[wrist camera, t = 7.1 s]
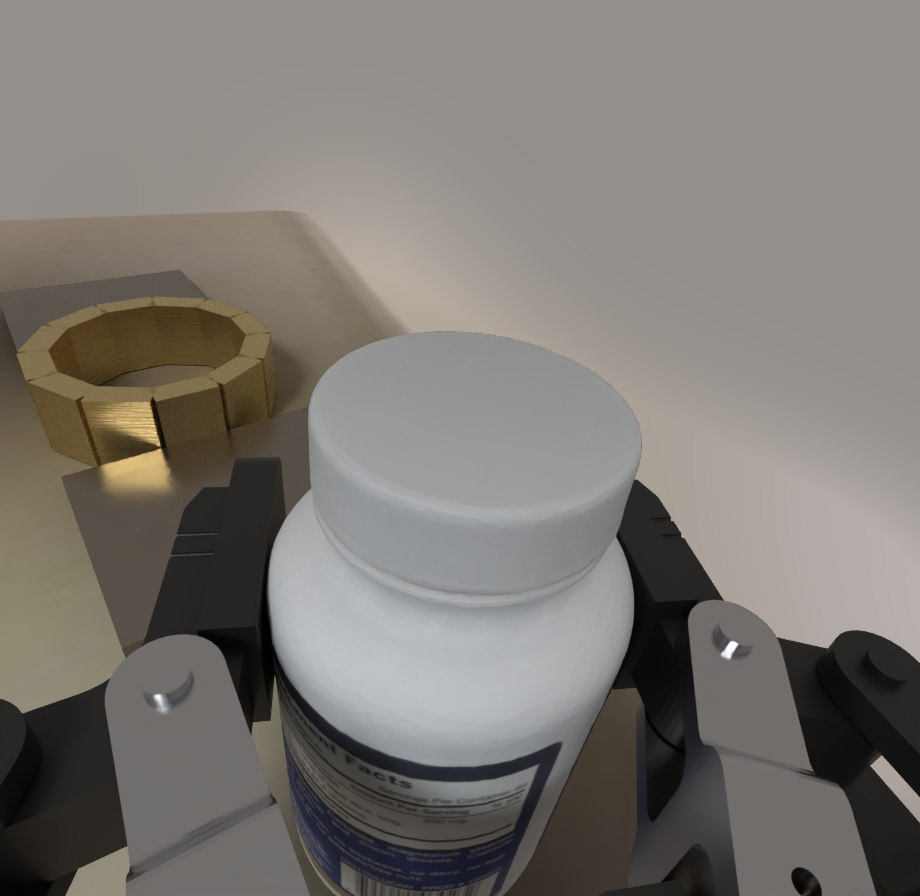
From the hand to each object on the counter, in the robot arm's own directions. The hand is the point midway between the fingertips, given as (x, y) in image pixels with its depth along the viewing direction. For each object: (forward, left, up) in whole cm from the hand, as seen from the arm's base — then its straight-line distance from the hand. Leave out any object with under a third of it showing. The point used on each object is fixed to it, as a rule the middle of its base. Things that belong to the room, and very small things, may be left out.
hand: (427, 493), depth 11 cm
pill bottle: (-1, -2, -6) cm, 7 cm away
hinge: (-1, +18, -8) cm, 19 cm away
